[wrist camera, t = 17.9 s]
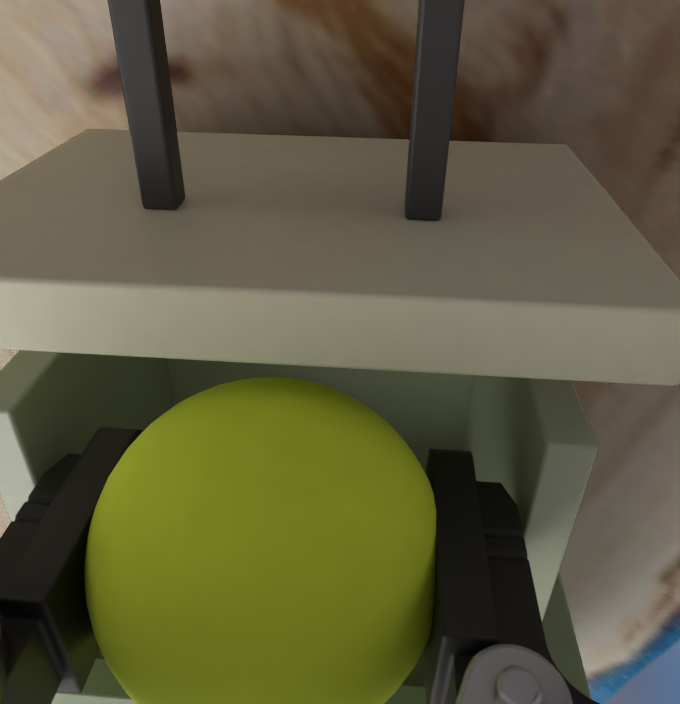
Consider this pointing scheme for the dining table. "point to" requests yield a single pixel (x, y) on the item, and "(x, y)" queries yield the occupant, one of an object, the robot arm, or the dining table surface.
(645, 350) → the drawer
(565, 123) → the dining table surface
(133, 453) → the tennis ball
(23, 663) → the robot arm
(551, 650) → the cabinet
